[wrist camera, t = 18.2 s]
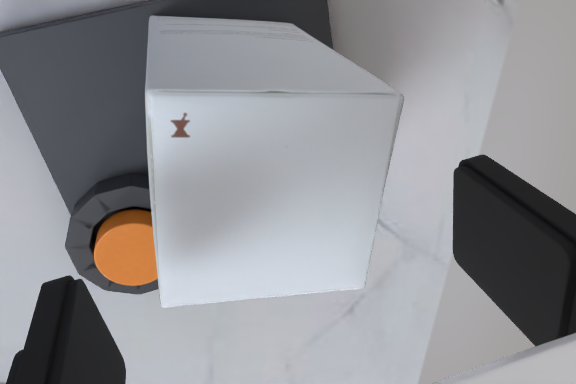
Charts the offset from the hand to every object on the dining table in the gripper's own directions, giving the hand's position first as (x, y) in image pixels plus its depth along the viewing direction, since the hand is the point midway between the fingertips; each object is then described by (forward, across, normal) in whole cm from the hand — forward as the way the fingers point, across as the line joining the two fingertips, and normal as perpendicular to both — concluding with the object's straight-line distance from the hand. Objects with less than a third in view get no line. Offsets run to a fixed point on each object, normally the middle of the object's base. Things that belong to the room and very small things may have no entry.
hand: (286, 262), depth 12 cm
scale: (+17, +1, +2) cm, 17 cm away
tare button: (+14, +6, +7) cm, 17 cm away
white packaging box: (+16, -1, 0) cm, 16 cm away
